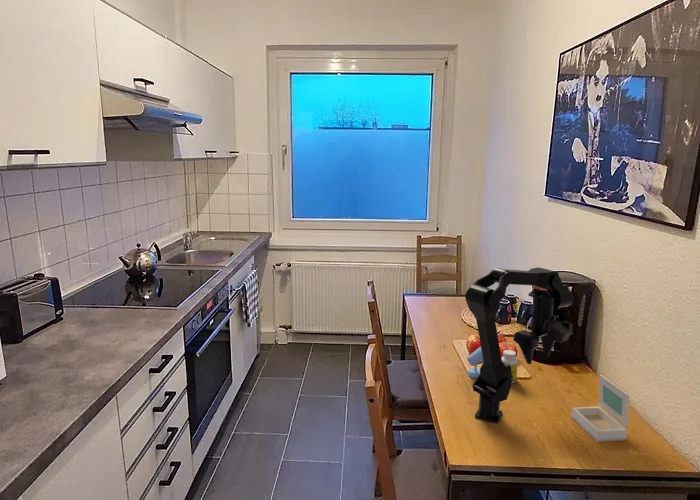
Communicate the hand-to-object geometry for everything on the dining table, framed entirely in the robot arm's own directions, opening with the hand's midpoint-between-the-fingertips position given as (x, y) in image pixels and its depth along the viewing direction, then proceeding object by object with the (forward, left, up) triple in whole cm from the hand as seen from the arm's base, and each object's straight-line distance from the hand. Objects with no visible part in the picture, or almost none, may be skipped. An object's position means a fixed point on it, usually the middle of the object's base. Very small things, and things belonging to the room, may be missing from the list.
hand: (537, 360), depth 143 cm
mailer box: (-9, -18, -13) cm, 23 cm away
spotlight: (+7, +20, -13) cm, 25 cm away
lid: (-7, -20, -4) cm, 22 cm away
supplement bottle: (+9, +10, -13) cm, 19 cm away
